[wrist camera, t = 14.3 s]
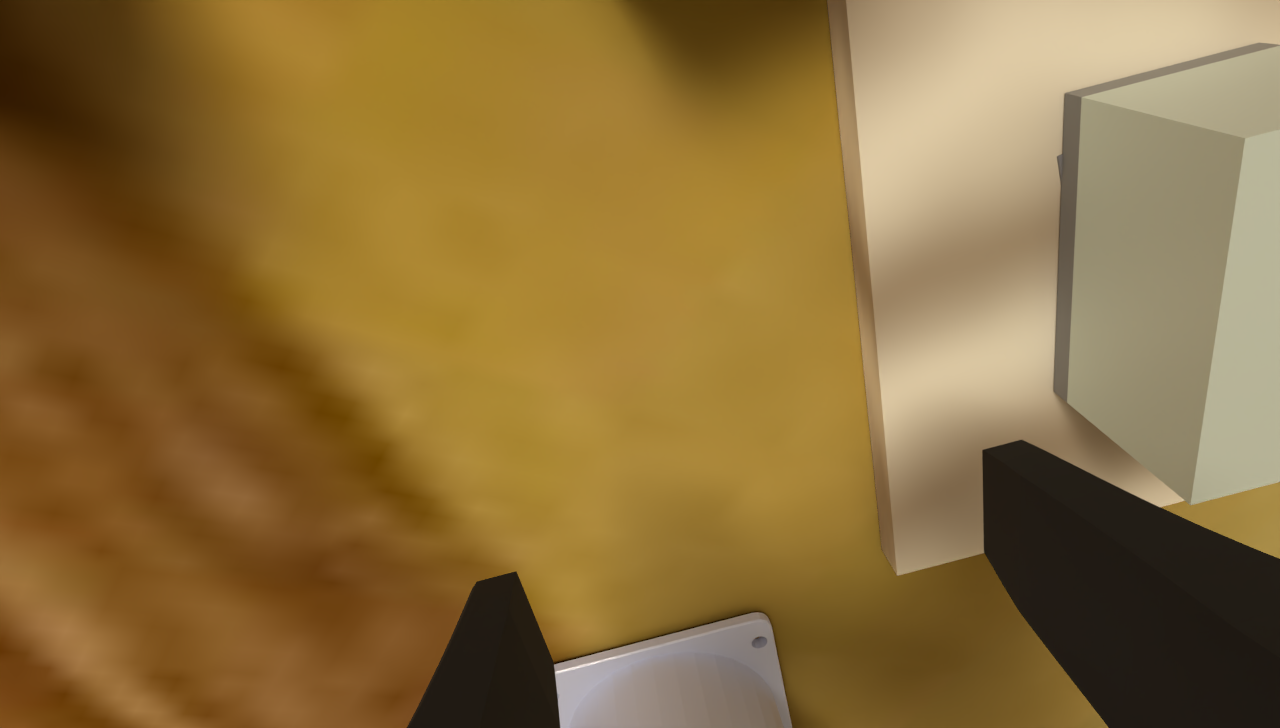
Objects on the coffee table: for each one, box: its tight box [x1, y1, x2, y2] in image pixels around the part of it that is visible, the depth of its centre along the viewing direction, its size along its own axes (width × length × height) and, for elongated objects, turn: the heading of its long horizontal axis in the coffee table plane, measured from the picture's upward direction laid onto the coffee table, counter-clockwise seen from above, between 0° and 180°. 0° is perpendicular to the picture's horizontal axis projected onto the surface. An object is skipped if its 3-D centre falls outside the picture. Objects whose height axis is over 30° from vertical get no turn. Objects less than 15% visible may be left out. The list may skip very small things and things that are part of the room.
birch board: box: [827, 0, 1280, 576], centre depth 20 cm, size 18×14×1 cm
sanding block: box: [1054, 42, 1280, 505], centre depth 17 cm, size 8×4×5 cm, turn 13°
